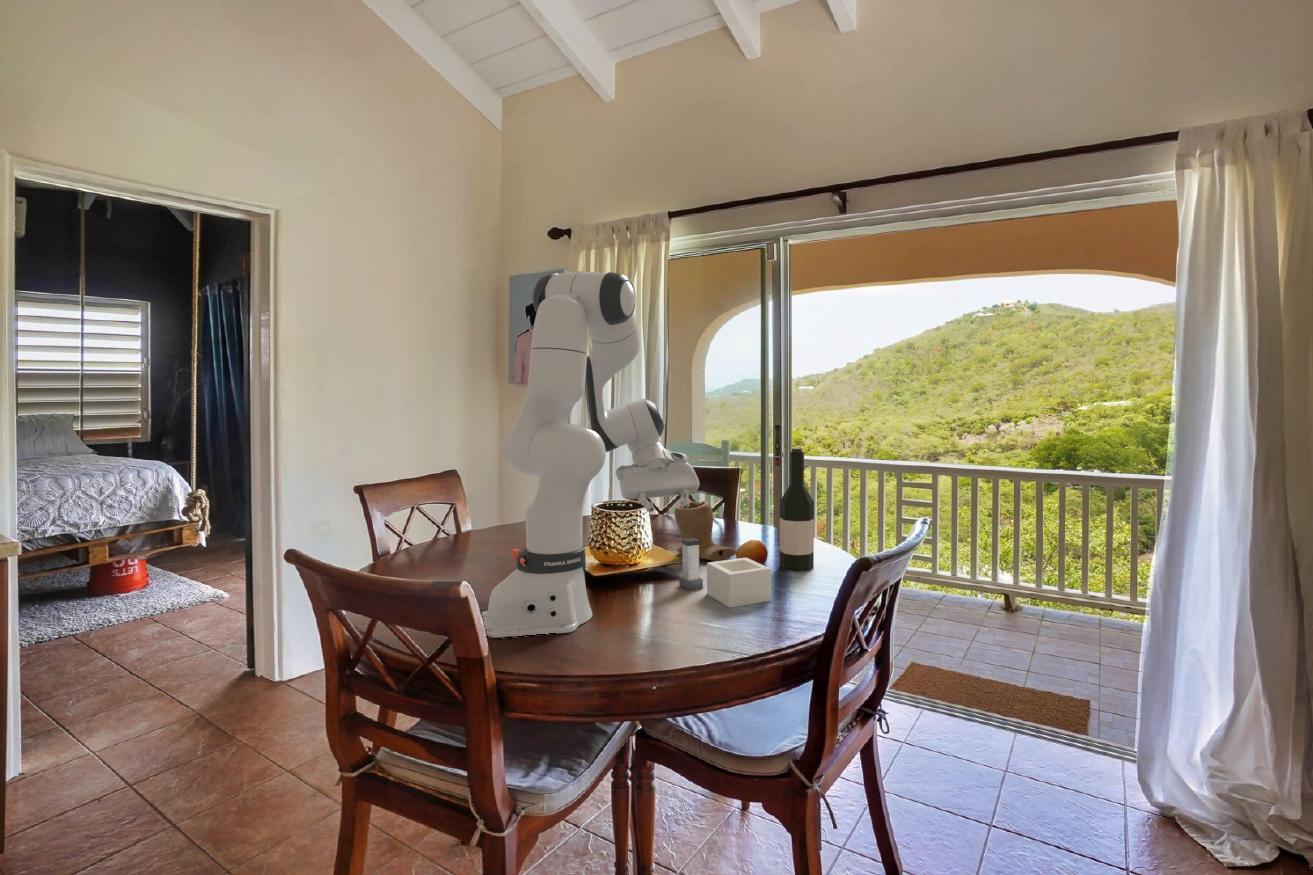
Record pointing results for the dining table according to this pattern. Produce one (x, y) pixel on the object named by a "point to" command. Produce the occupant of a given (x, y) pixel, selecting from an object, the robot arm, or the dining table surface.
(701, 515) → the brown boot
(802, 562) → the wine bottle
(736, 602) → the holder
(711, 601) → the dining table surface
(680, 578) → the capped white pillar
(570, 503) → the robot arm
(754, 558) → the fruit
